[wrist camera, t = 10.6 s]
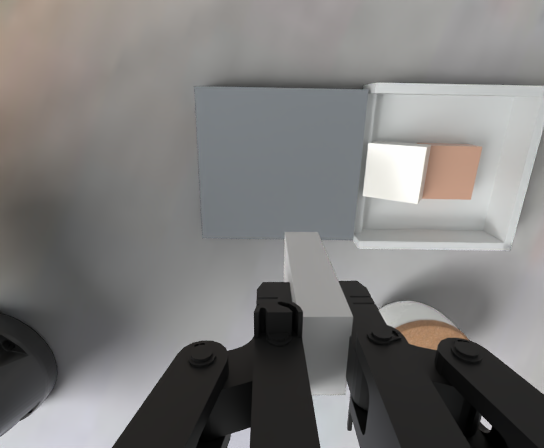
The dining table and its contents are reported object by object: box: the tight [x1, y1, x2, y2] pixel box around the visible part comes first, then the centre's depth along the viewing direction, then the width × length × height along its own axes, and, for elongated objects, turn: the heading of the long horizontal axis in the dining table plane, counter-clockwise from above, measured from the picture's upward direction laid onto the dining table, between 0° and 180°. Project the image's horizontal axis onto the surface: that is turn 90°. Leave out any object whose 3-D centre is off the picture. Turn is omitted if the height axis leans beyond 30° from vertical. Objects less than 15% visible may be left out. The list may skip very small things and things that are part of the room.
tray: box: [353, 83, 544, 251], centre depth 33 cm, size 15×15×4 cm
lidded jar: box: [379, 301, 469, 350], centre depth 37 cm, size 11×11×9 cm
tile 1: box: [417, 143, 482, 200], centre depth 33 cm, size 5×5×2 cm
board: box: [194, 86, 369, 240], centre depth 33 cm, size 15×14×3 cm
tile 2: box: [363, 141, 431, 204], centre depth 32 cm, size 5×5×2 cm
